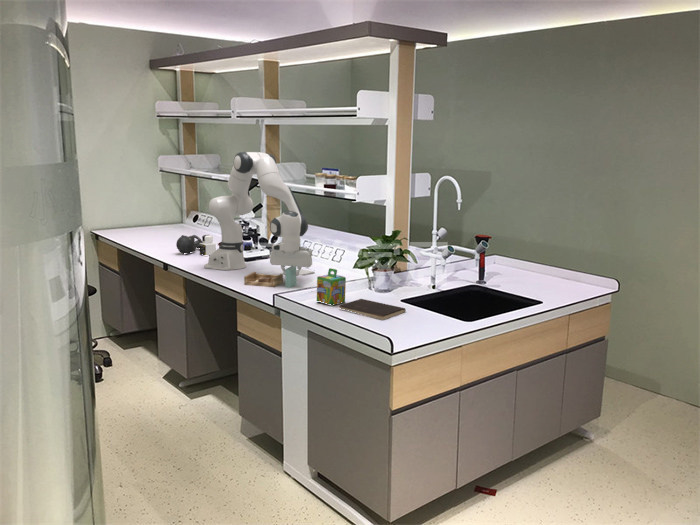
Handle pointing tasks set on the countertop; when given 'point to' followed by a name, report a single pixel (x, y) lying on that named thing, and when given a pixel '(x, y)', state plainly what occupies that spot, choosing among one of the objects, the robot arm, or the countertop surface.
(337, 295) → the green printed box
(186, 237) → the gas mask
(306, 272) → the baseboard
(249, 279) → the rack
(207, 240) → the medicine bottle
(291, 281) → the panel
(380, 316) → the hardcover book
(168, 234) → the countertop surface
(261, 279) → the offcut short
